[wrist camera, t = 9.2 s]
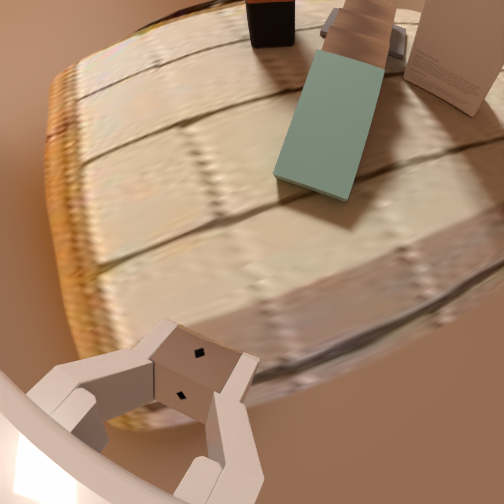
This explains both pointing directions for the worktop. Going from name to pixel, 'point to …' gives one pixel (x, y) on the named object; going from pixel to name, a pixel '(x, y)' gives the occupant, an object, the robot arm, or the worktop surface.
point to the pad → (395, 39)
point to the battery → (271, 22)
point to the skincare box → (458, 50)
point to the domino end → (330, 125)
